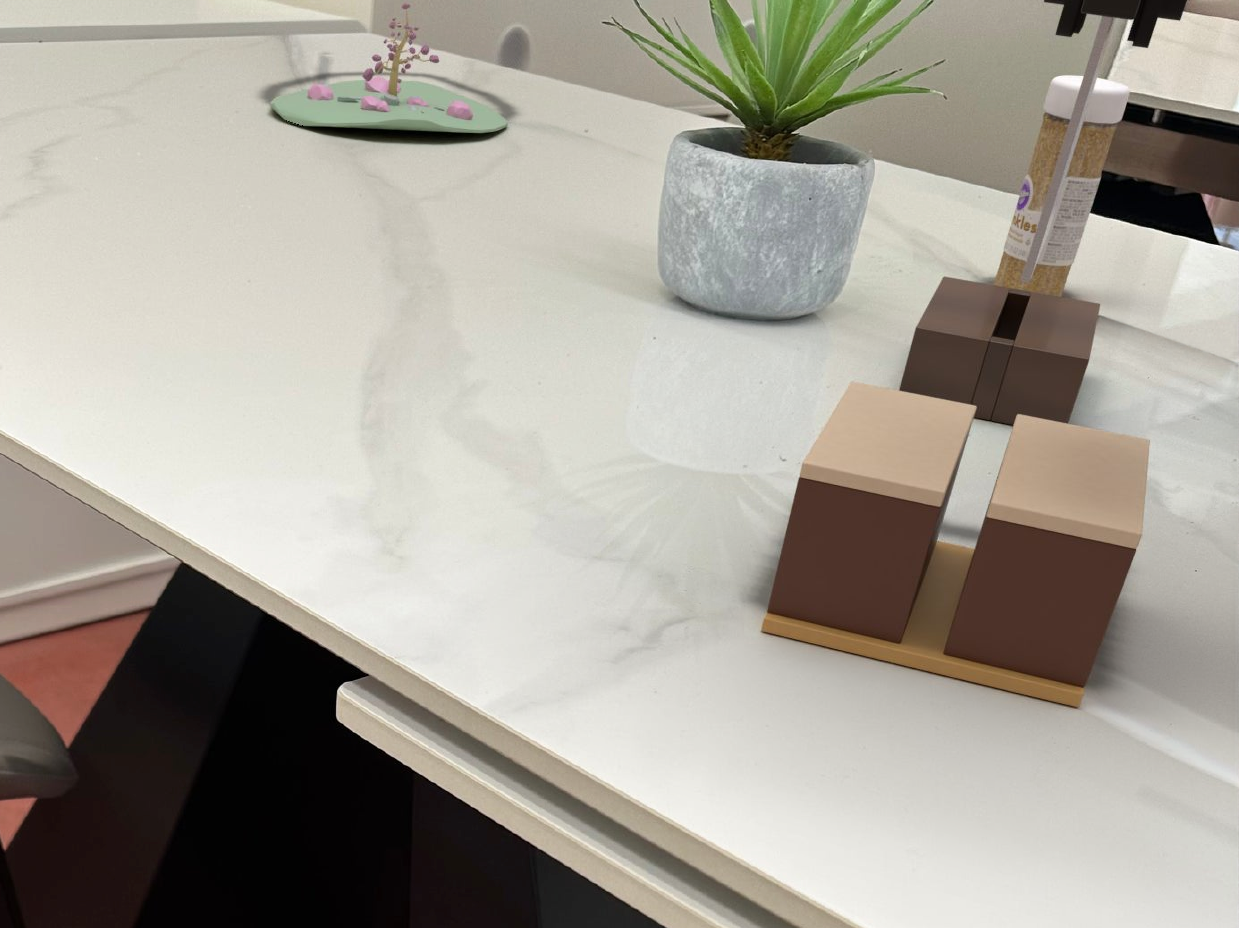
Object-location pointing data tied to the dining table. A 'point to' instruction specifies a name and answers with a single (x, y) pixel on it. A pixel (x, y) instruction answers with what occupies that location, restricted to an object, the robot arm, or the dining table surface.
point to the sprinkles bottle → (1076, 188)
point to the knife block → (1001, 350)
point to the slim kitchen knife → (1078, 115)
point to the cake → (951, 574)
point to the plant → (388, 100)
